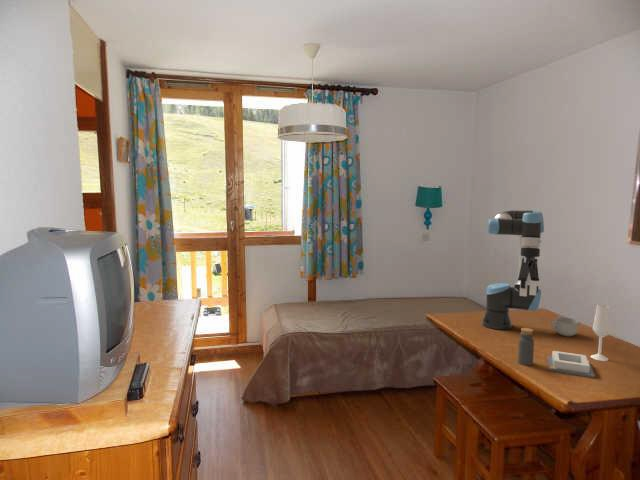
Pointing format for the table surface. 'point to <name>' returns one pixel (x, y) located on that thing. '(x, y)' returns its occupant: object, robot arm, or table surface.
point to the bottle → (526, 347)
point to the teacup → (565, 326)
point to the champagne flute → (601, 328)
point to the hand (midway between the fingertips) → (528, 295)
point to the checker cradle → (570, 364)
